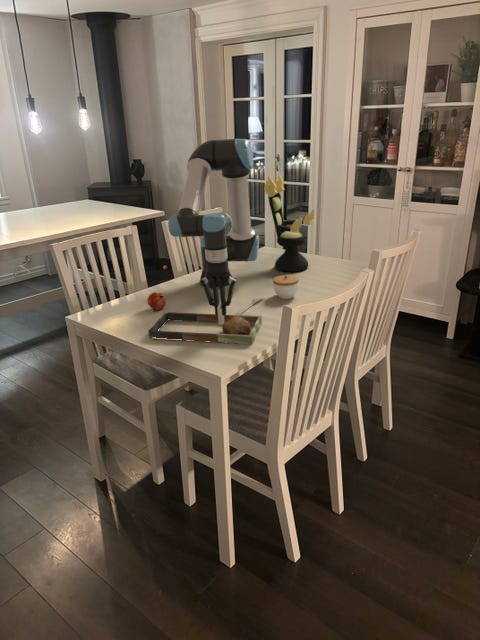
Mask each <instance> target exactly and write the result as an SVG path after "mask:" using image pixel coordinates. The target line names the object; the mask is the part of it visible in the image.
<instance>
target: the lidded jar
mask: <svg viewBox="0 0 480 640" xmlns="http://www.w3.org/2000/svg"><path fill="white" fill-rule="evenodd" d="M299 281H300V280H299V277H297V276H295V275H292V274H291V275H290V274H284V275H277V276H275V277H274V278H273V279H272V282H273V290H274V292H275V294H276V296H278V297H279V299H283V300H287V299H292V298H293V297H294V296H296V294H297V292H298V289H299Z"/></svg>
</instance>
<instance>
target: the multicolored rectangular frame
mask: <svg viewBox="0 0 480 640" xmlns="http://www.w3.org/2000/svg"><path fill="white" fill-rule="evenodd" d="M233 316H239V317H242V318H244V319H245V320H246V321H248V322H249V324H250V325H253V327H252V328H251V331H250V333H249V334H248V335H233V334H224V333H211V332H210V333H209V332H208V333H207V332H189V331H170V330H167V331H166V330H159V331H158V329H159V328H160V327H161V326H162V325H163V324H164V323H165V322H166V321H167V320H168V319H170V320H168V321H173V320H182V321H181V322H196V321H199V323H202V322H203V323H218V315H215V313H197V312H195V313H194V312H172V311H169V312H168V311H167V312H165V313H163V315H162V316H161V317H160V318H158V320H157V321H156V322H155V323H154V324H153V325H152V326H151V328H149V329H148V336H149V337H150V336H151V337H156V338H167V339H182V340H194V341H210V342H209V343H212V342H227V343H226V344H231V343H239V344H238V345H249V344H252V345H253V344H254V342H255V339H256V337H257V336H258V333H259V331H260V328H261V326H262V324H263V318H262V317H263V316H262V315H247V314H241V315H235V314H226V315H224V323H225V322H226V320H228V319H229V318H230V317H233ZM168 321H167V322H168ZM167 322H166V323H167ZM166 323H165V324H166ZM224 323H223V324H224ZM165 324H164V325H165ZM194 341H193V342H194Z"/></svg>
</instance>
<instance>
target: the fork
mask: <svg viewBox="0 0 480 640" xmlns="http://www.w3.org/2000/svg"><path fill="white" fill-rule="evenodd" d="M259 300H265V298H264V297H263V298H262V297H254V298H252V300H251V301H252V303H250V305H248V306H246V307H244V308H242V309H240V310H238V311H237V312H236V313H234V315H243V314H244V312H245V311H246V310H248V309H249V308H251V307H252V306H253V305H254V304H256V303H257V302H258V301H259Z"/></svg>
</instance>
